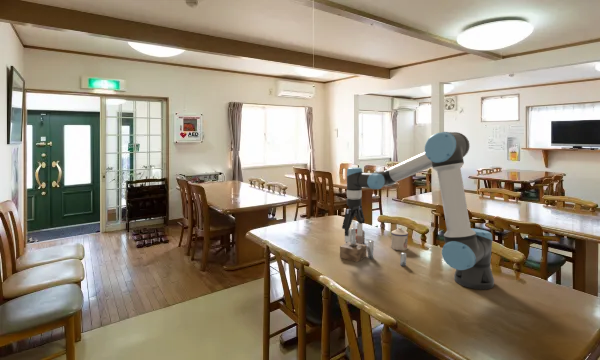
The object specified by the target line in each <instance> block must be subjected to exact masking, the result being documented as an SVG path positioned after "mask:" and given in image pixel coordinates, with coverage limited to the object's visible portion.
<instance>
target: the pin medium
mask: <svg viewBox="0 0 600 360" xmlns="http://www.w3.org/2000/svg"><path fill="white" fill-rule="evenodd" d="M367 245H368V247H367V251H368V253H367V259H370V260H373V259H374V248H375V246H374V240H372V239H370V240H368V243H367Z"/></svg>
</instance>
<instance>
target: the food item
mask: <svg viewBox="0 0 600 360" xmlns="http://www.w3.org/2000/svg"><path fill="white" fill-rule="evenodd" d="M355 229H356V243H359V244H364V243H365V242H366V241H365V238H366V237H365V234H366V233H365V231H364V230H363V229H362V236H359V235H357V228H355ZM350 242H351V239H350ZM346 243H348V242H345V244H346Z"/></svg>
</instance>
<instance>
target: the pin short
mask: <svg viewBox="0 0 600 360" xmlns="http://www.w3.org/2000/svg"><path fill="white" fill-rule="evenodd" d="M406 265H407V252H403V251H402V252H400V266H401V267H407V266H406Z"/></svg>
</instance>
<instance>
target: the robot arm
mask: <svg viewBox="0 0 600 360" xmlns="http://www.w3.org/2000/svg"><path fill="white" fill-rule="evenodd" d="M470 147H471V146H470V141H469V139H468V138H467V136H466V135H464V134H463V133H462V132H459V131H458V132H456V131H455V132H454V131H453V132H452V131H442V132H441V131H440V132H437V133H434V134H432V135H431V136H430V137H429V138H428V139H427V140H426V141H425V144H424V152H422V153H420V154H417V155H415V156H413V157H411V158H409V159H407V160H405V161H402V162H400V163H398V164H396V165H394V166H391V167H390V168H388V169H385V170H382V171H376V172H364V171H363V169H362V167H354V166H353V167H347V170H346V192H345V193H346V197H347V198H346V206H348V208H347V209H345V210H344V212H345V214H344V218H343V223H342V226H341V229H342V230H344V242H345V243H346V242H350V229H351V225H352V222H353V219H354V218H355V219H356V220H357V224H356V229H357V235H359V236H362V230H363V224H365V215H364V211H363V205H362V201H363V200H362V196H363V192H362V190H363V189H362V188H364V189H371V190H381V189H382V188H383V187H388V186H392V185H394V184H396V183H397V182H398V181H402V180H404V179H406V178H409V177H411V176H414V175H416V174H418V173H421V172H422V171H426V170H428V169H430V168H432V169H433V170H434V171H436V172H437V178H438V183H439V190H440V197H441V201H442V209H443V214H444V219H445V226H446V231H445V233H443V238H444V239H443V240H444V244H443V246H442V248H441V256H442V259H443V261H444V262H445V263H446V264H447V265H448V266H449V267H450V268H452V269H454V270H455V271H454V273H453V275H454V277H453V278H454V279H453V280H454V281H455V283H457V284H459V285H460V286H463V287H465V288H469V289H474V290H490V289H493V288H494V286H495V279H494V275H493V272H492V268H491V263H492V262H491V260H492V251H493V250H492V249H493V248H492V247H493V240H494V239H493V234H492V233H491V231H488V230H485V229H479V228H471V222H470V217H469V216H470V215H469V212H468V204H467V200H466V193H465V192H466V191H465V189H464V182H463V176H462V175H463V173H462V169H461V167H463V165H464V163H465V162H464V157H465V156H466V155H468V153H469V151H470Z"/></svg>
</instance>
